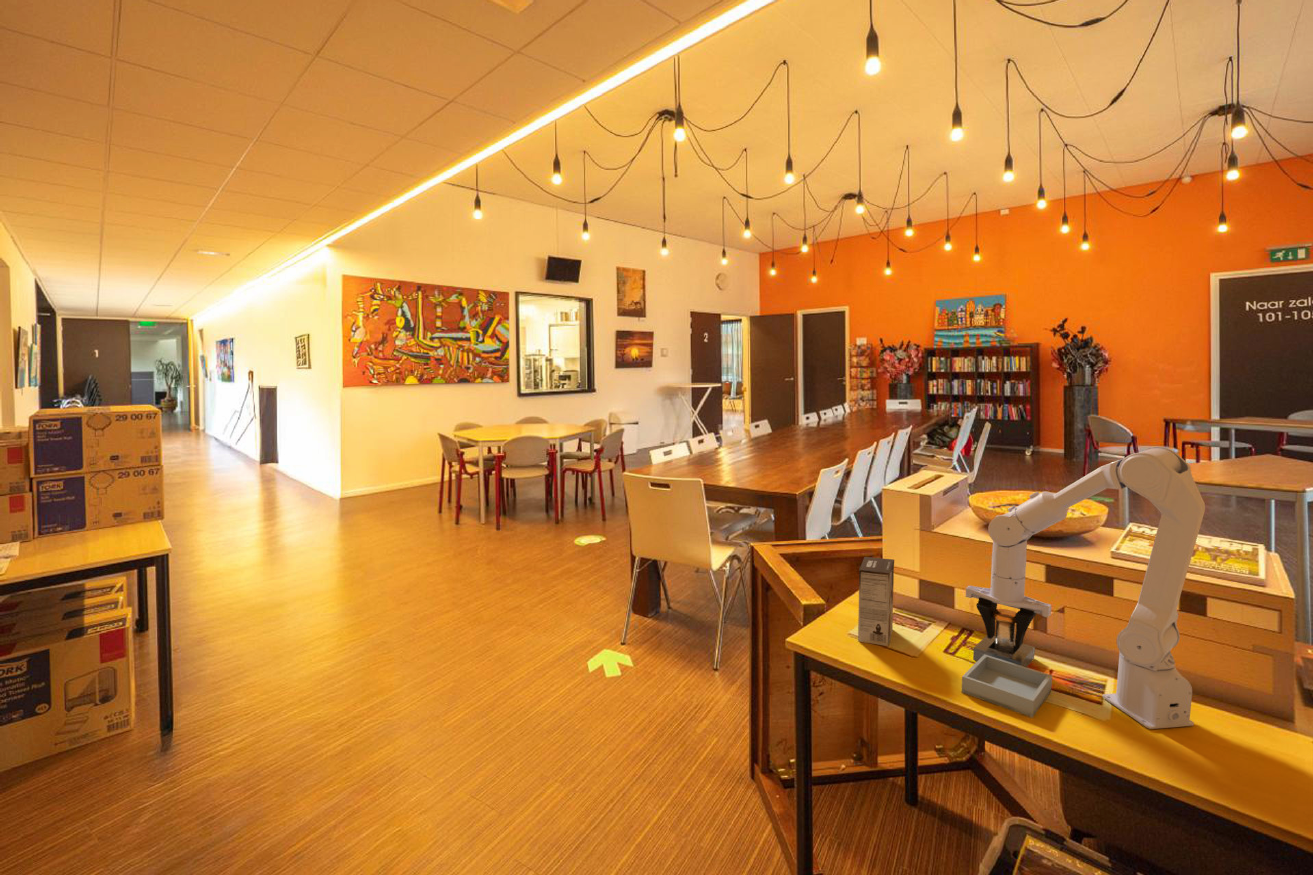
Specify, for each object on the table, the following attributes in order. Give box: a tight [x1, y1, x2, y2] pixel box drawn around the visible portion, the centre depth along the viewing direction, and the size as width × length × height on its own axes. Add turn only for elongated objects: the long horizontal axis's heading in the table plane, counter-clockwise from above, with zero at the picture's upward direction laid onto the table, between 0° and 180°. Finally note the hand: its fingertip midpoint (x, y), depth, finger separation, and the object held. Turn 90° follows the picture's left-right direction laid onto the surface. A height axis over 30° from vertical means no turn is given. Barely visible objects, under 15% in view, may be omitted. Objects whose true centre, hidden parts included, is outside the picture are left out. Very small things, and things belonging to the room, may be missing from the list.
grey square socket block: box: [972, 635, 1036, 668], centre depth 120 cm, size 8×8×2 cm
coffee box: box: [857, 556, 895, 647], centre depth 131 cm, size 9×6×16 cm
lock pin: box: [992, 608, 1017, 655], centre depth 120 cm, size 5×5×9 cm
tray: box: [961, 654, 1053, 719], centre depth 109 cm, size 11×11×3 cm
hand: (1004, 640), depth 120 cm, fingers closed on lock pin, 4 cm apart
